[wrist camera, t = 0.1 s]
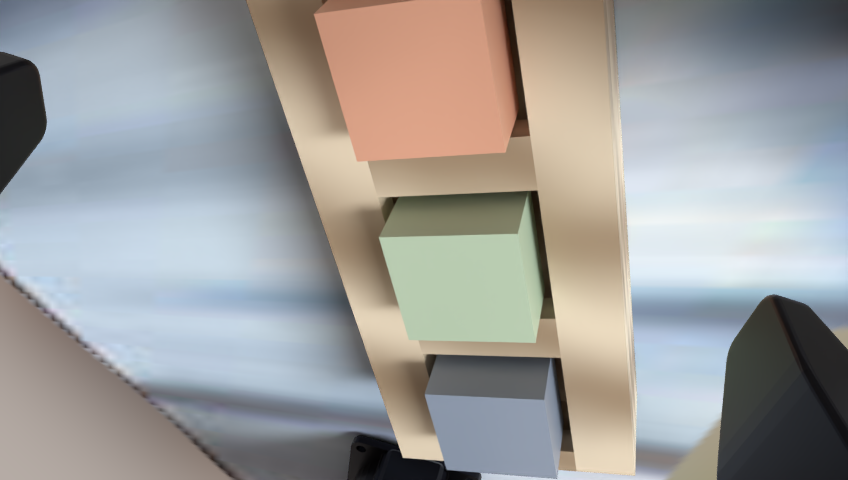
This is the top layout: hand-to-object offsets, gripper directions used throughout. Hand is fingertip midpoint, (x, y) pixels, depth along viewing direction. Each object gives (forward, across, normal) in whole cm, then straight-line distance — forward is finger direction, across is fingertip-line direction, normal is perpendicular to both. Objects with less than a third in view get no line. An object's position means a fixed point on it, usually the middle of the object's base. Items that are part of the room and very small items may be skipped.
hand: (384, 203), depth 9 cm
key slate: (+11, -4, +15) cm, 19 cm away
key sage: (+11, -1, +9) cm, 14 cm away
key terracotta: (+11, +1, +3) cm, 12 cm away
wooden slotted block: (+14, -1, +9) cm, 17 cm away
